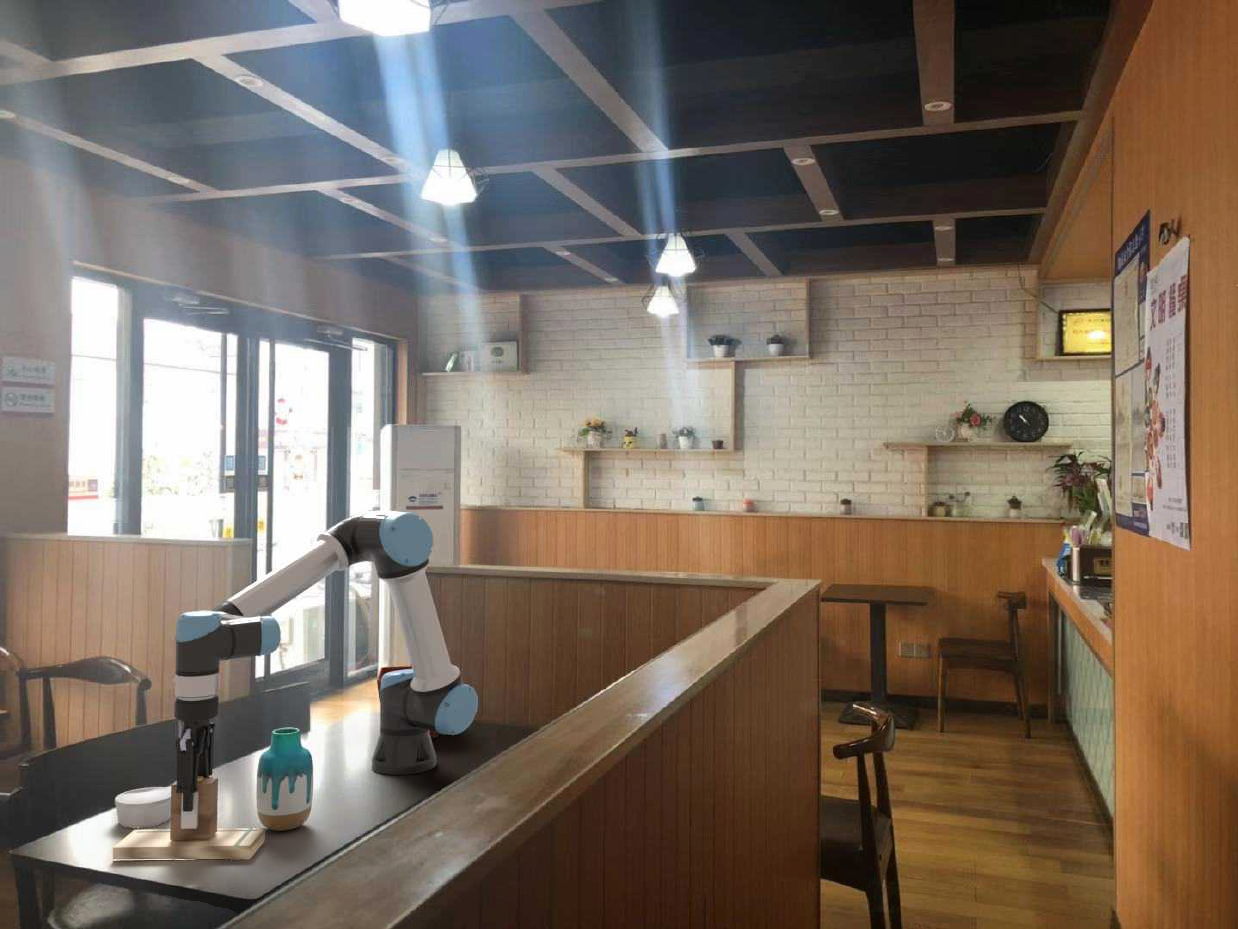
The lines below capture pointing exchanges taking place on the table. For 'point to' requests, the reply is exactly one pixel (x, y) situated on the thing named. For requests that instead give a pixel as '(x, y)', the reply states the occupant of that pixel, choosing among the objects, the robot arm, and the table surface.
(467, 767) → the table surface
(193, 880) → the table surface
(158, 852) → the board
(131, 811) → the ramekin
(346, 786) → the table surface
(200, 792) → the tan boxy wooden piece
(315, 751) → the table surface
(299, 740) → the vase
